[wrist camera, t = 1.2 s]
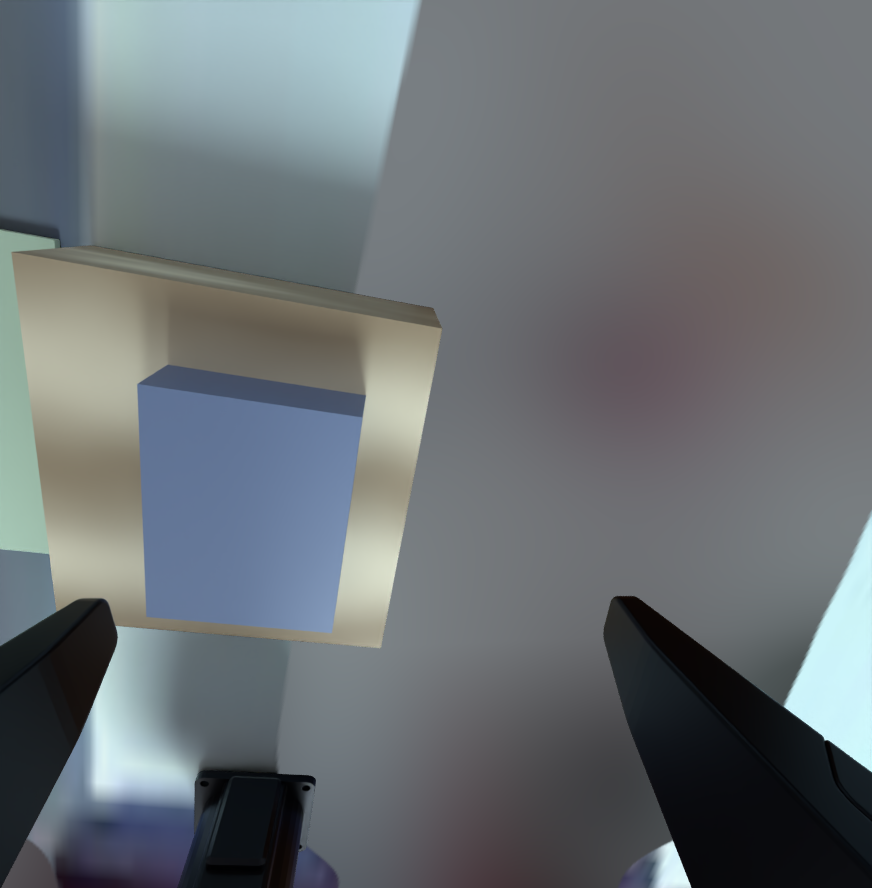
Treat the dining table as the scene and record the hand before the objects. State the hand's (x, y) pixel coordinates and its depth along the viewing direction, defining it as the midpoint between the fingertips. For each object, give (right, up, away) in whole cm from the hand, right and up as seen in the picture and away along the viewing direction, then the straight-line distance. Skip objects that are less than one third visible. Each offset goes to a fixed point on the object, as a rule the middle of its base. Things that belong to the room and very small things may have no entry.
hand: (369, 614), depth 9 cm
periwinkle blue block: (-5, +1, +8) cm, 10 cm away
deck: (-6, +3, +12) cm, 13 cm away
